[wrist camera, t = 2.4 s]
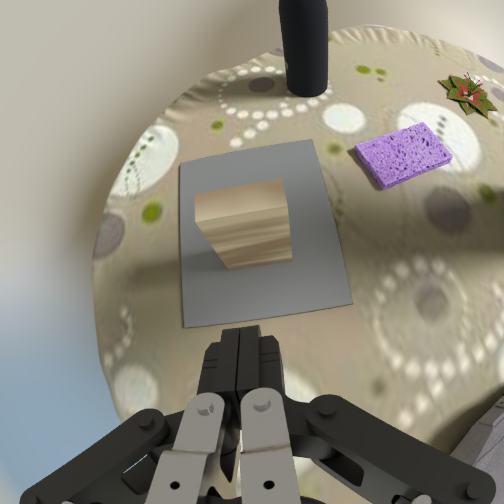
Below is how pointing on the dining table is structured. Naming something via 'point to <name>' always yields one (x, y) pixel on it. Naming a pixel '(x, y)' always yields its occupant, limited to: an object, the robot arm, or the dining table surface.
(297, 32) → the black water bottle
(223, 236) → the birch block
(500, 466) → the small grey backpack
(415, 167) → the sponges
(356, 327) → the dining table surface
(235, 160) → the rubber mat
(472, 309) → the dining table surface
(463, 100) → the green leafy rosette
